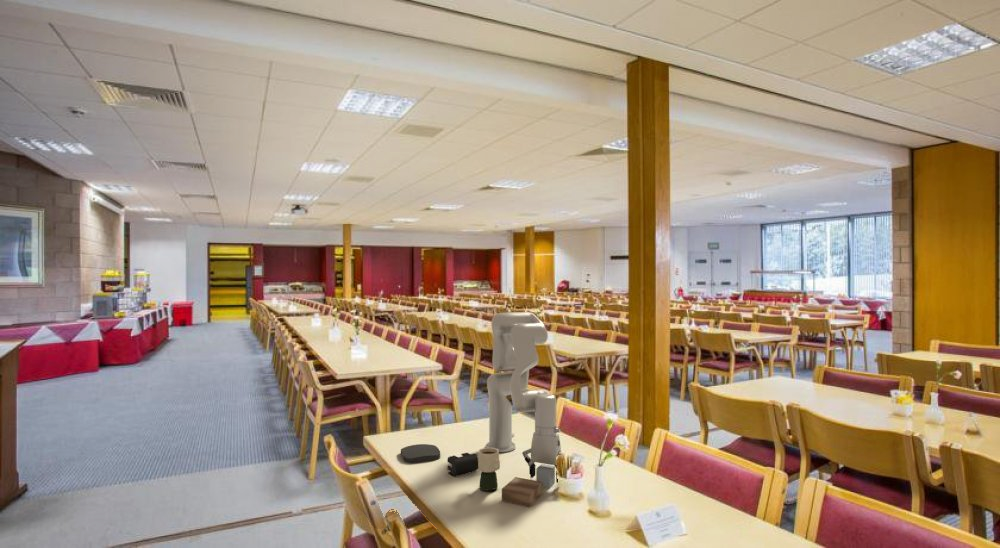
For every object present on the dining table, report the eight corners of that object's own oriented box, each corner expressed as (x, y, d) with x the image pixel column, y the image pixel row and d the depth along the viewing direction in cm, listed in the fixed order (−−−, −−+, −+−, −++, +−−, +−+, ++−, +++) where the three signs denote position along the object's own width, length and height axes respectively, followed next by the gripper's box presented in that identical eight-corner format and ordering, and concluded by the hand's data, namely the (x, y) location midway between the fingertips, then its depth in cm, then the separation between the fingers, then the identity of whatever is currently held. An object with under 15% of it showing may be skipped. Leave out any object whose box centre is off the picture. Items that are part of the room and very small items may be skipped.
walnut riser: (515, 488, 181) (515, 476, 181) (542, 493, 177) (542, 482, 177) (501, 501, 171) (501, 488, 171) (530, 507, 167) (530, 494, 167)
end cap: (456, 480, 189) (456, 461, 189) (446, 474, 195) (446, 455, 195) (479, 473, 195) (479, 455, 195) (469, 468, 200) (469, 450, 200)
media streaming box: (442, 460, 209) (442, 452, 209) (405, 465, 204) (405, 457, 204) (433, 448, 223) (433, 441, 223) (398, 453, 218) (398, 445, 218)
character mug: (507, 490, 179) (507, 452, 179) (491, 496, 175) (491, 457, 175) (485, 481, 187) (486, 444, 187) (470, 486, 183) (470, 449, 183)
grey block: (541, 480, 188) (541, 463, 188) (554, 483, 186) (554, 466, 186) (536, 485, 184) (536, 468, 184) (549, 488, 181) (549, 471, 181)
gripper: (572, 430, 184) (572, 479, 184) (527, 424, 192) (527, 471, 192) (565, 436, 178) (565, 487, 178) (518, 429, 185) (518, 478, 185)
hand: (545, 479), depth 185 cm, fingers open, 9 cm apart
